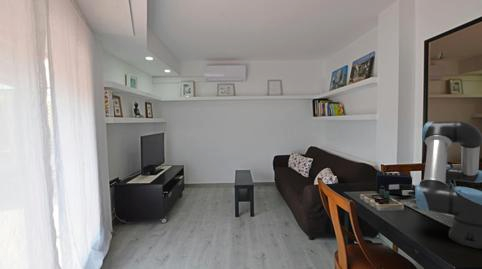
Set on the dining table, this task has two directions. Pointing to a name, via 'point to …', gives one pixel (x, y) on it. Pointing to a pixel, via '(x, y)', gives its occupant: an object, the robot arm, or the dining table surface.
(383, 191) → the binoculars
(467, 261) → the dining table surface
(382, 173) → the speaker
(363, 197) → the tray
